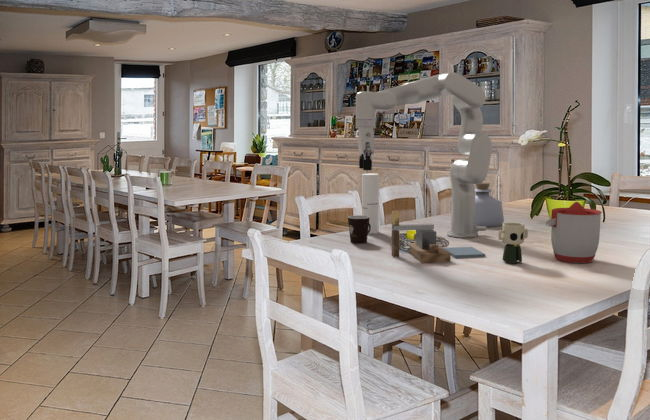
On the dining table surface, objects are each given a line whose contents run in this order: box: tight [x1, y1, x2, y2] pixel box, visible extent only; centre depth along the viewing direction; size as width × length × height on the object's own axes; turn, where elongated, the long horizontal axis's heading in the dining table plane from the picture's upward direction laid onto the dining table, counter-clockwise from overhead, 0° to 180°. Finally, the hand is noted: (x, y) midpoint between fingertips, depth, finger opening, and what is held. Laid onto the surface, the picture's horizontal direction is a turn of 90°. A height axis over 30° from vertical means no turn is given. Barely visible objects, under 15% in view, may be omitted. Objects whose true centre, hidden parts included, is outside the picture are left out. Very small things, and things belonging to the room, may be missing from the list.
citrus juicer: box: [545, 201, 603, 264], centre depth 207 cm, size 16×17×20 cm
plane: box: [391, 229, 452, 264], centre depth 217 cm, size 17×24×9 cm
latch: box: [391, 210, 435, 231], centre depth 216 cm, size 15×3×7 cm, turn 97°
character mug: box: [497, 222, 529, 264], centre depth 205 cm, size 11×7×13 cm, turn 106°
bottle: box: [475, 182, 505, 228], centre depth 282 cm, size 20×20×19 cm
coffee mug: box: [347, 214, 371, 245], centre depth 240 cm, size 12×9×10 cm
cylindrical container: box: [361, 172, 380, 235], centre depth 262 cm, size 7×7×25 cm
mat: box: [442, 246, 486, 259], centre depth 220 cm, size 11×13×1 cm
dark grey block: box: [415, 229, 437, 249], centre depth 217 cm, size 5×8×6 cm, turn 7°
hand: (365, 169), depth 237 cm, fingers open, 9 cm apart
